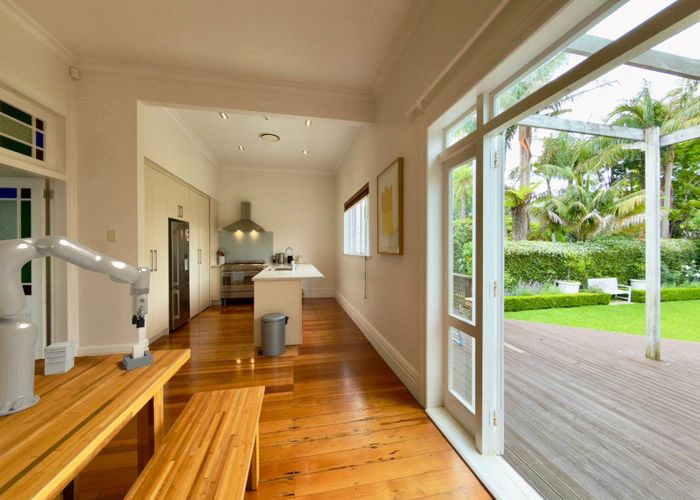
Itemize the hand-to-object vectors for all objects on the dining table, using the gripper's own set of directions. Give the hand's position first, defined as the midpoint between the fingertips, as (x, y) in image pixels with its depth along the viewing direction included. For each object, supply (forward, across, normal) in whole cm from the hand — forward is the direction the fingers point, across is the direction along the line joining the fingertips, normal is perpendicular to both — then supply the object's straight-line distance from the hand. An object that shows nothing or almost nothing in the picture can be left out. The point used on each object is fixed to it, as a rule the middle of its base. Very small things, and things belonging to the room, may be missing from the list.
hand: (138, 325), depth 132 cm
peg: (+19, 0, -1) cm, 19 cm away
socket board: (+19, 0, -1) cm, 19 cm away
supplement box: (+20, +16, +25) cm, 36 cm away
